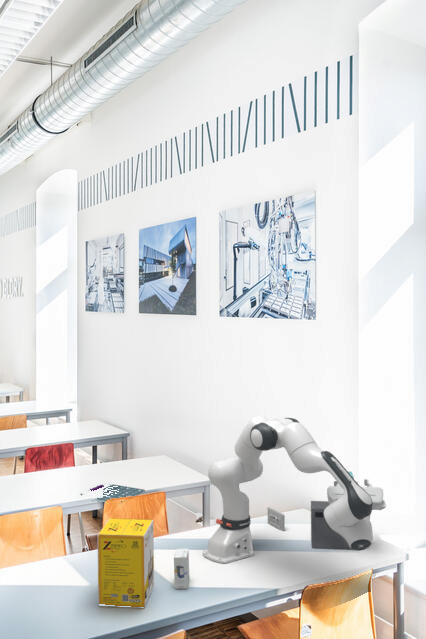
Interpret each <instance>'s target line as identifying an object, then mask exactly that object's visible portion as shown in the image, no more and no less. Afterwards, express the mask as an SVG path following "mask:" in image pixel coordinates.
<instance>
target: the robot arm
mask: <svg viewBox="0 0 426 639" xmlns="http://www.w3.org/2000/svg"><path fill="white" fill-rule="evenodd" d="M236 440H237V441H236V442H235V445H234V452H235V455H236V456H233V457H230V458H224V459H220V460H217V461H216V462H213V463H211V464H210V465H209V468H208V473H207V474H208V475H207V476H208V480H209V482H210V483H211V484H212V485H213V486H214V487H216V489H217V490H218V491H219V492H220V495H221V498H222V516H221V519H220V518H216V520H215V523H216V524H218V525H219V527H218V528H217V529H216V531H215V532H214V533H213V534H212V535H211V537H210V538H209V540H208V546H207V548H206V549H204V550H203V551H202V556H203V557H204V558H206V559H208V560H210V561H213V562H216V563H220V564H228V563H232V562H235V561H239V560H242V559H246V558H249V557H252V556H254V555H255V551H254V546H253V540H252V534H251V533H252V532H251V528H250V527H251V523H252V522H251V521H252V520H251V515H250V498H249V496H248V495H247V494H246V493H245V492H243V491H241V490H240V489H241V488H240V484H244V483H248V482H252V481H255V480H256V479H259V477H261V476H262V474H263V472H264V465H263V462H262V460H261V459H260V457H261V455H262V454H263V452H265V451H270V450H278V449H282V448H284V449H285V451H286V452H287V455H288V456H289V459H290V461H291V462H292V464H293V465H294V467H295V469H297V470H298V471H299V472H300V473H304V474H314V473H319V472H324V471H325V472H327V473H329V474H330V475H331V476H332V477H333V479H334V480H335V481H337V482H338V484H337V486H334V485H329V486H328V487H327V490H326V492H327V501H328V502H329V506H328V507H326V508H325V509H324V512H323V517H324V521H325V524H326V526H327V528H328V529H329V530H331V531H332V532H334V533H337V534H339V535H341V536H342V537H343V538H344V539H345V540H346V541H347V543H348V545H349V546H350V548H351V549H353V550H352V551H361V552H362V551H364V550H366V549H368V548H370V546H372V544H373V539H374V535H373V533H374V532H373V526H372V522H371V515H372V512H373V511H375V510H376V511H377V510H378V511H382V510H384V509H386V507H387V504H386V502H385V499H384V489H383V488H381V487H378V486H377V487H375V486H373V485H372V483H370V481H369V479H367V478H366V479H365V478H364V481H363V484H364V486H361V485H360V484H358V483H357V482H358V481H356V480H355V478H354V479H353V477H352V476H351V475H350V474H349V473H348V472H349V471H348V470H347V469H346V468H345V466H344V465H343V464H342V463H341V462H340V460H339V459H338V458H337V457H336V456H335V455H334V454H333V453H331V451H328V450H323V449H321V448H320V446H318V444H317V442H316V441H315V439H314V437H313V435H312V434H311V433H310V432H309V430H308V429H307V428H306V427H305V426H304V425H303V424H302V423H301V422H300V421H299V420H298V419H296V418H293V417H284V418H276V419H275V418H274V419H272V420H269V419H268V418H267V417H265V416H263V415H256V416H254V417H251V419H250V420H249V421H248V423H247V424H246V425H245V426H244V428H243V429H242V431H241V433H240V435H239V437H238V439H236Z"/></svg>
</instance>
